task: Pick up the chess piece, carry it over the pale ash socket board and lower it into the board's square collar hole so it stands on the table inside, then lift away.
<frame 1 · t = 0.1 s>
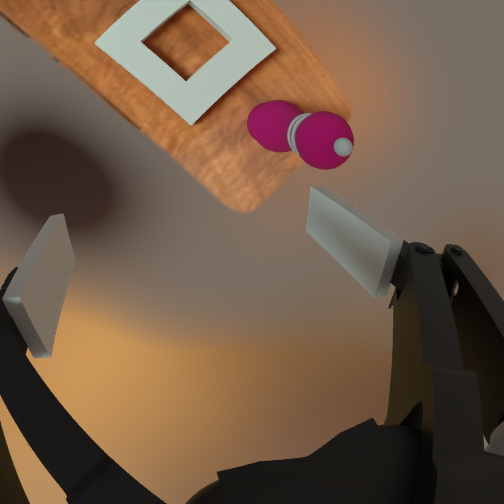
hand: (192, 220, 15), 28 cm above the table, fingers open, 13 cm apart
pepper mill: (266, 122, 41), on the table
socket board: (185, 41, 31), on the table
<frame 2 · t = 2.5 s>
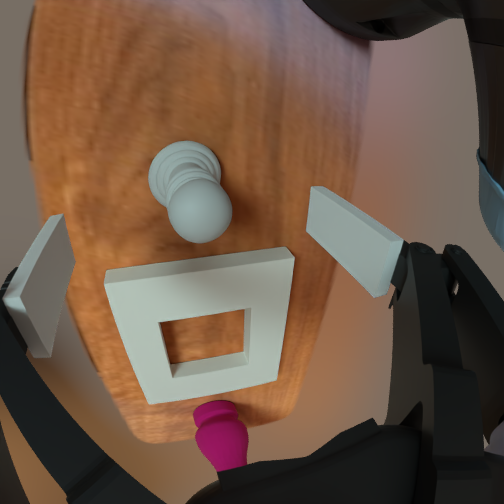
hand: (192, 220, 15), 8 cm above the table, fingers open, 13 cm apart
pepper mill: (213, 409, 38), on the table
chess piece: (183, 174, 21), on the table
socket board: (204, 332, 30), on the table
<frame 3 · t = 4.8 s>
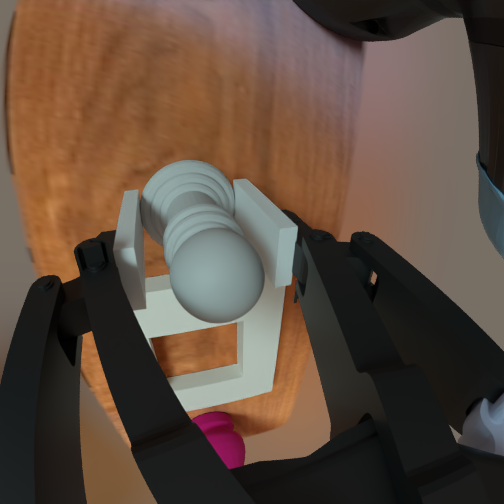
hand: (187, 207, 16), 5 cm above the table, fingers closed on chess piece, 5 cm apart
pepper mill: (209, 421, 37), on the table
chess piece: (186, 203, 17), point 4 cm above the table, touching gripper
socket board: (196, 346, 28), on the table
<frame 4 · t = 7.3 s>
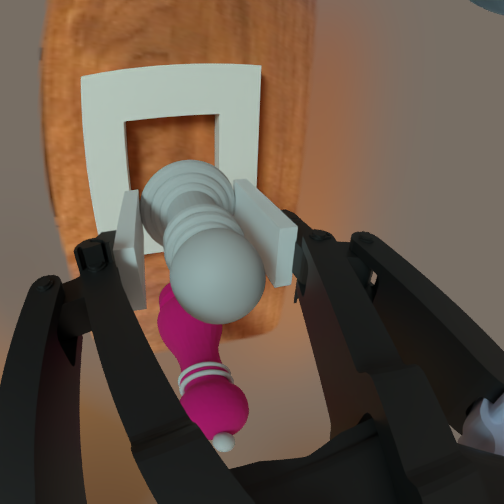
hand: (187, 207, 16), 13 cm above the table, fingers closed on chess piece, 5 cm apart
pepper mill: (183, 297, 36), on the table
chess piece: (186, 203, 17), point 13 cm above the table, touching gripper
socket board: (171, 158, 27), on the table
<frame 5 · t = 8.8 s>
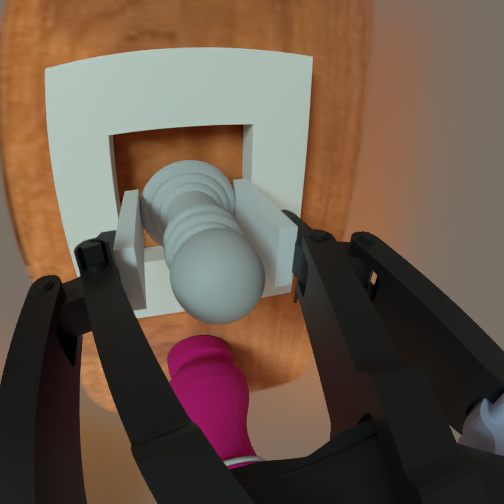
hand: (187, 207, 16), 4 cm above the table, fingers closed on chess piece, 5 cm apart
pepper mill: (197, 355, 28), on the table
chess piece: (186, 203, 17), point 3 cm above the table, touching gripper
socket board: (181, 186, 19), on the table
when the fingers open (3 cm above the table, at t = 9.9 s): chess piece drops 3 cm, resting in socket board.
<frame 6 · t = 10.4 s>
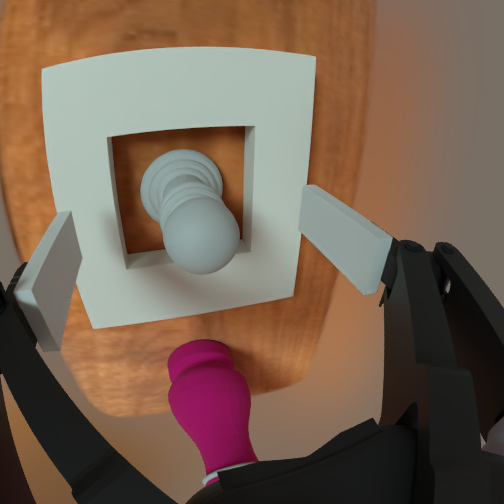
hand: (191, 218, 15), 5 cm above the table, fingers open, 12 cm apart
pepper mill: (198, 359, 28), on the table
chess piece: (180, 186, 19), resting in socket board
socket board: (181, 189, 19), on the table
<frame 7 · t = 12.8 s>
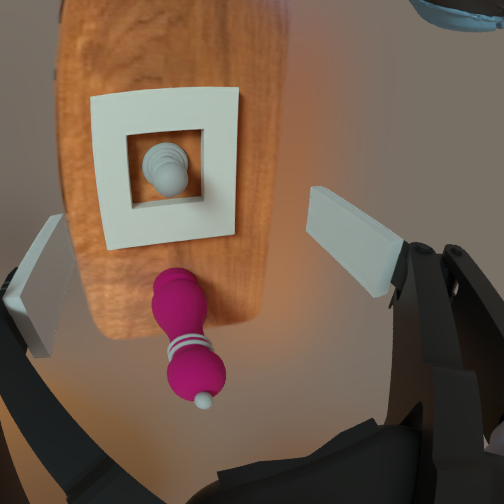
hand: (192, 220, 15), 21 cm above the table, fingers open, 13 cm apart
pepper mill: (175, 285, 41), on the table
chess piece: (164, 163, 33), resting in socket board
socket board: (165, 165, 32), on the table
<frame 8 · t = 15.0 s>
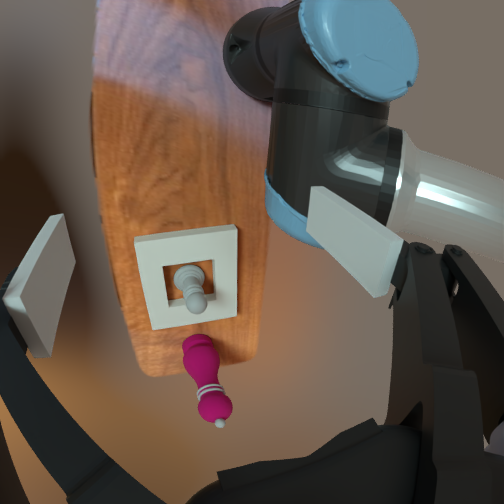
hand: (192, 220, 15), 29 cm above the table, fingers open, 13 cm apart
pepper mill: (196, 343, 59), on the table
chess piece: (188, 276, 50), resting in socket board
socket board: (188, 277, 50), on the table
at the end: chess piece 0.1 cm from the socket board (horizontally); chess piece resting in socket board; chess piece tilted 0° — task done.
